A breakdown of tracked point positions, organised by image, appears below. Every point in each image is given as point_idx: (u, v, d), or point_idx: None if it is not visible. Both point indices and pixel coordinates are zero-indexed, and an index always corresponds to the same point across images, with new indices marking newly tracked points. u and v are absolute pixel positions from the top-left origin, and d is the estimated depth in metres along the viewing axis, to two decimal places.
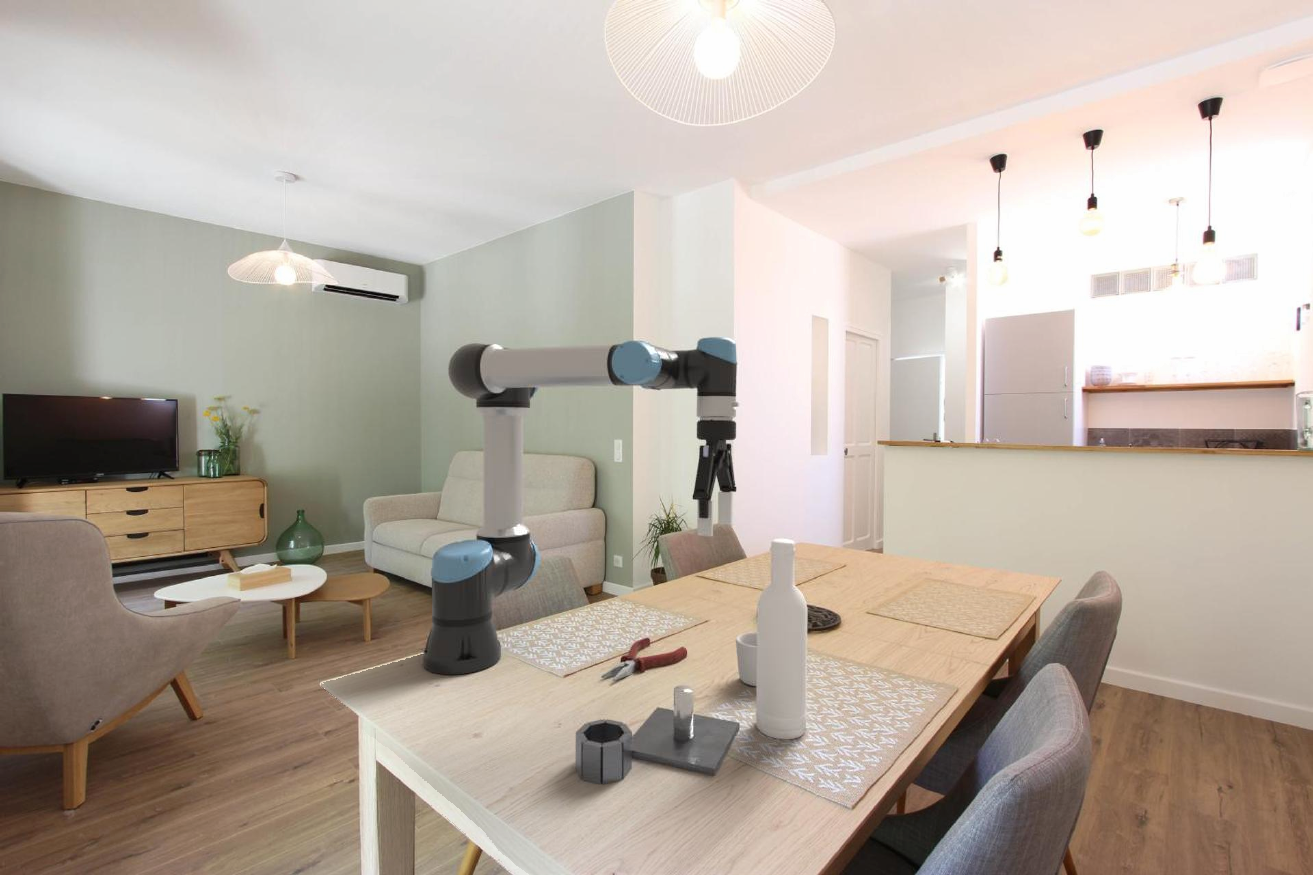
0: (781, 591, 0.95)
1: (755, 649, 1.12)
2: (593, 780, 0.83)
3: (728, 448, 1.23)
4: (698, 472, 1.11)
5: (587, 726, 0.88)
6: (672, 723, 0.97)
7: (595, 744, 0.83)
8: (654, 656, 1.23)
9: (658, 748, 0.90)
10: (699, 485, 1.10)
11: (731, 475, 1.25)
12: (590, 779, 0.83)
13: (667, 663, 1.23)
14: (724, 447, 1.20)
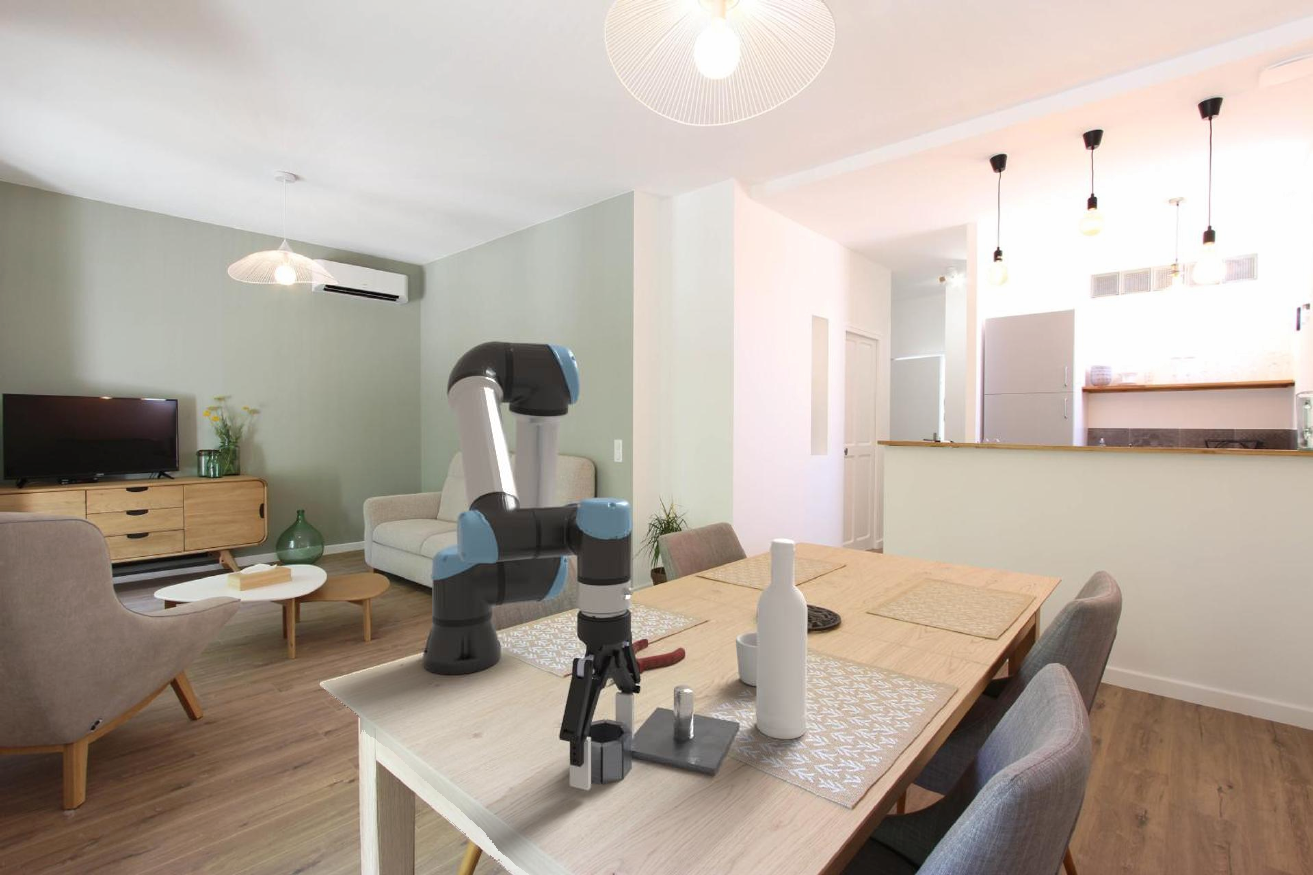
0: (781, 591, 0.95)
1: (755, 649, 1.12)
2: (593, 780, 0.83)
3: (626, 638, 0.91)
4: (568, 701, 0.79)
5: None
6: (672, 723, 0.97)
7: (595, 744, 0.83)
8: (652, 657, 1.22)
9: (658, 748, 0.90)
10: (568, 723, 0.77)
11: (633, 670, 0.93)
12: None
13: (666, 664, 1.23)
14: (617, 644, 0.87)
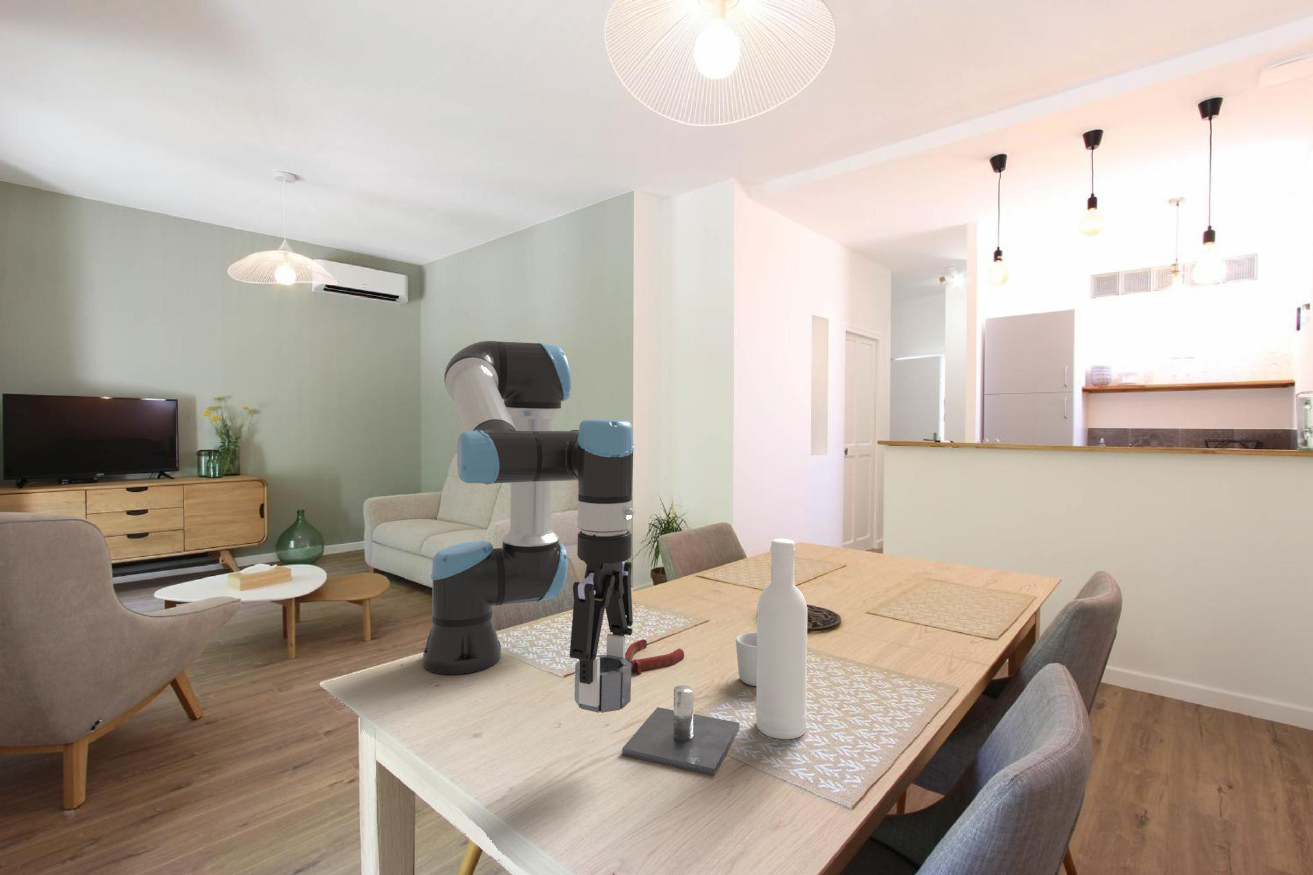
0: (781, 591, 0.95)
1: (755, 649, 1.12)
2: (592, 708, 0.83)
3: (626, 568, 0.91)
4: (574, 623, 0.80)
5: None
6: (672, 723, 0.97)
7: None
8: (651, 658, 1.22)
9: (658, 748, 0.90)
10: (576, 643, 0.80)
11: (627, 607, 0.91)
12: (588, 708, 0.83)
13: (664, 665, 1.22)
14: (617, 566, 0.87)
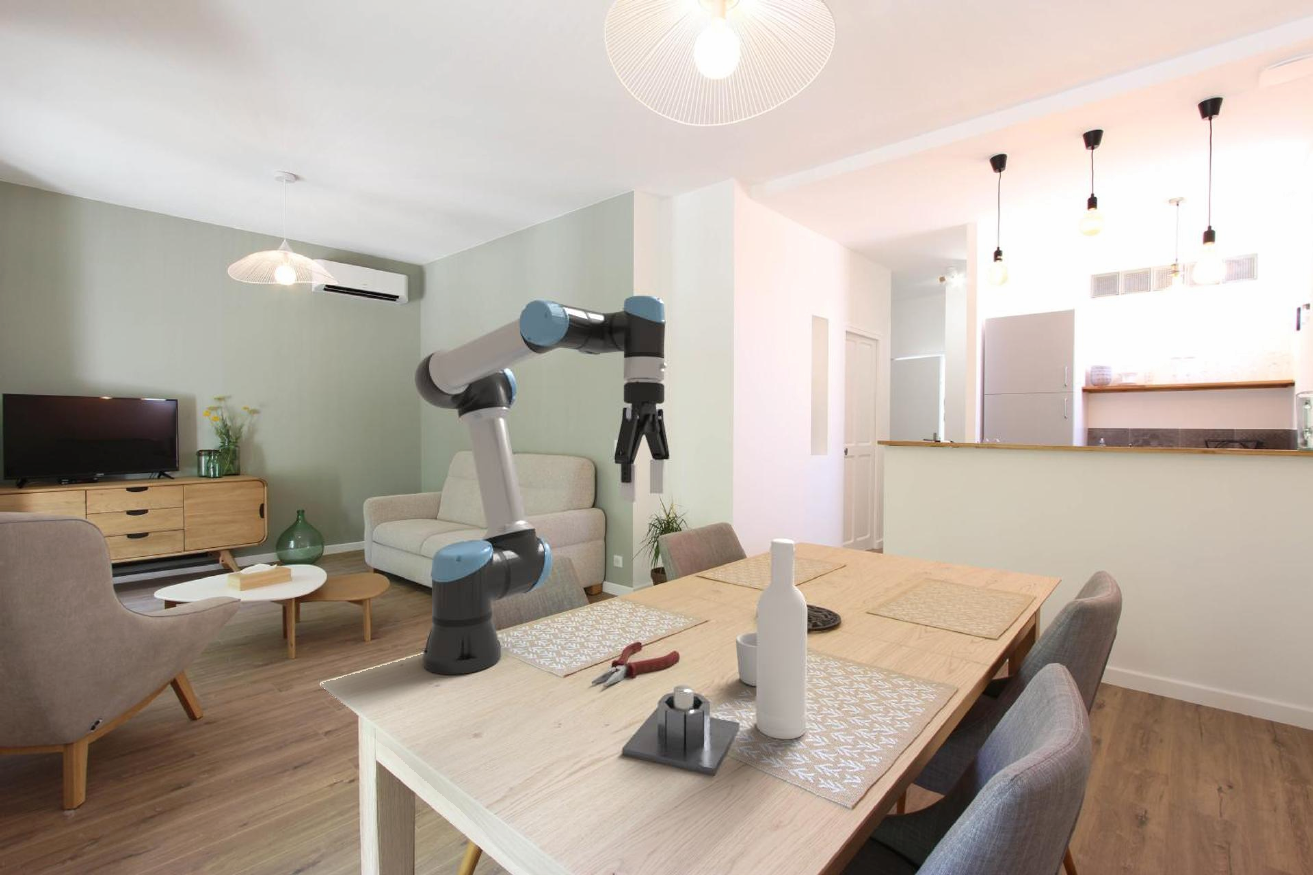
0: (781, 591, 0.95)
1: (755, 649, 1.12)
2: (677, 744, 0.90)
3: (659, 414, 1.18)
4: (620, 435, 1.06)
5: (667, 697, 0.95)
6: None
7: (678, 712, 0.91)
8: (646, 661, 1.20)
9: (658, 748, 0.90)
10: (620, 448, 1.05)
11: (664, 442, 1.21)
12: (674, 744, 0.91)
13: (659, 668, 1.21)
14: (653, 411, 1.15)
